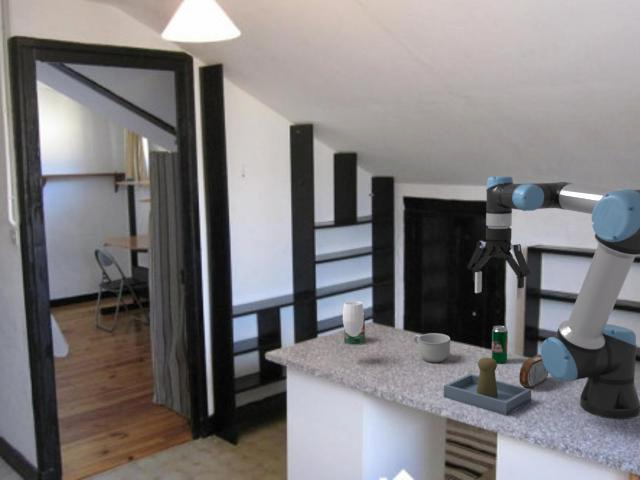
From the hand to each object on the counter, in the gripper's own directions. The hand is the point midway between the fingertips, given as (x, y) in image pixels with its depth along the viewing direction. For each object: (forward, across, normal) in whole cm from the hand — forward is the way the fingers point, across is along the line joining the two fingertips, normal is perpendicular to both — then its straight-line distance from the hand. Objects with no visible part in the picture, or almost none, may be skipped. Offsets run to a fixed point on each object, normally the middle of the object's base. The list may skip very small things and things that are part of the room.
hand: (497, 295), depth 199 cm
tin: (+27, -11, -4) cm, 29 cm away
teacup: (+27, +27, -3) cm, 38 cm away
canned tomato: (+27, +60, 0) cm, 66 cm away
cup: (+27, +44, +18) cm, 55 cm away
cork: (+26, -7, +17) cm, 32 cm away
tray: (+27, -7, +17) cm, 32 cm away
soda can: (+27, +8, -16) cm, 32 cm away
